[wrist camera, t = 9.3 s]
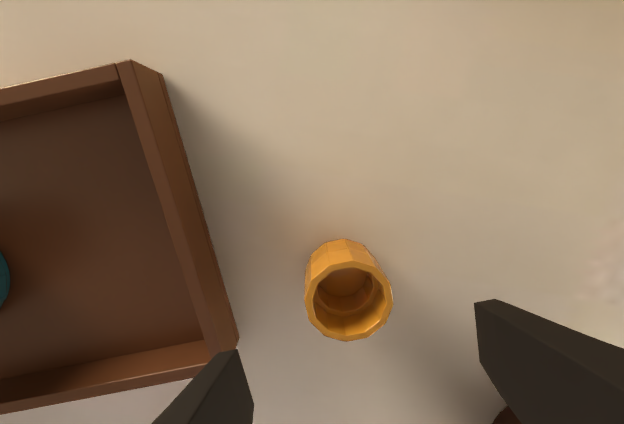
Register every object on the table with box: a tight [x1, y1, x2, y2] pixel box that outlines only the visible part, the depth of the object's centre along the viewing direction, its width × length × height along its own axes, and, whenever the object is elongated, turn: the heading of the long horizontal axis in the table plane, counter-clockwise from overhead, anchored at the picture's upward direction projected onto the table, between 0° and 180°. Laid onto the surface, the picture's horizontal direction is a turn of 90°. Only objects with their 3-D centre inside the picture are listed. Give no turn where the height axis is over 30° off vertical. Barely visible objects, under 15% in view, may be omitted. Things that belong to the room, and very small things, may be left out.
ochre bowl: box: [304, 239, 393, 342], centre depth 14 cm, size 4×4×3 cm
